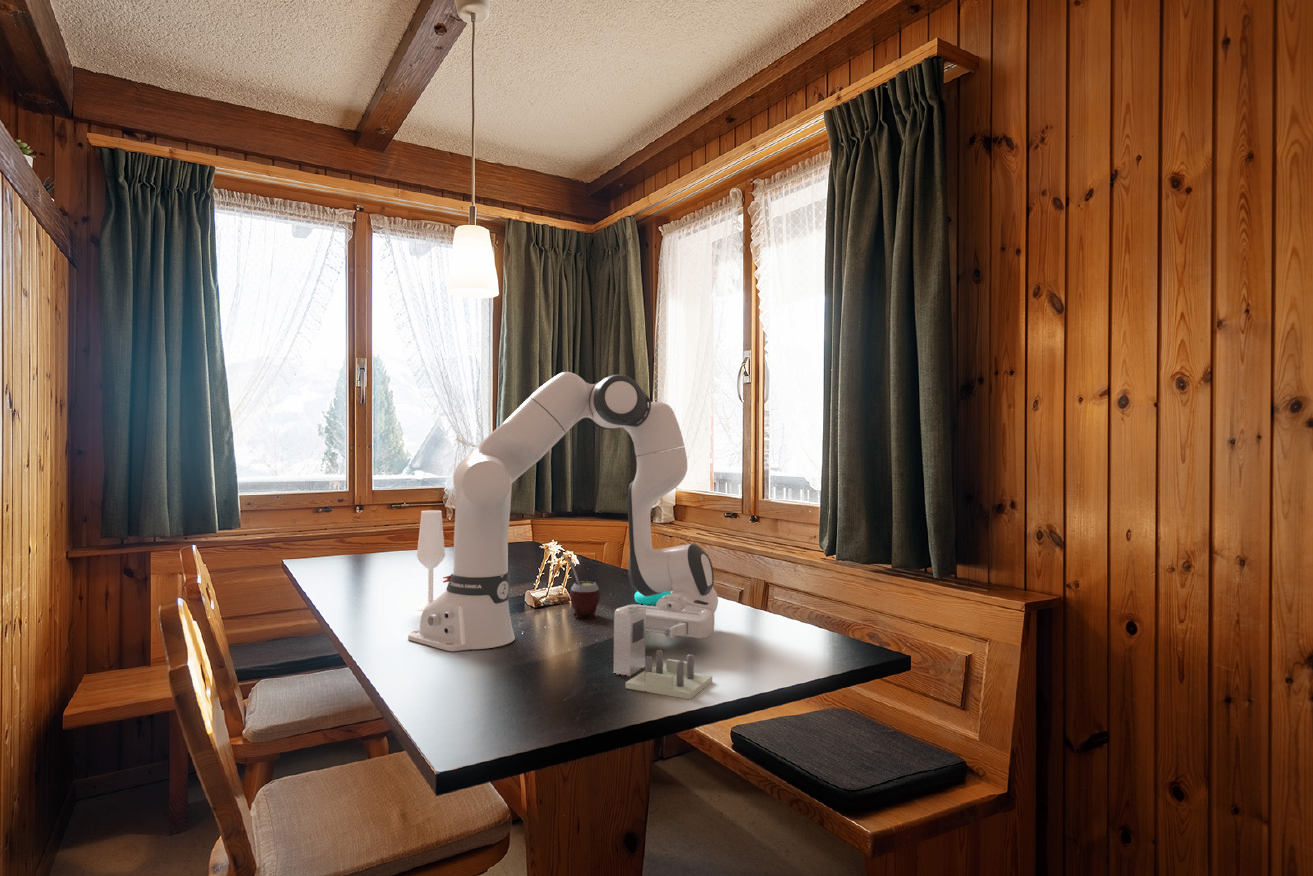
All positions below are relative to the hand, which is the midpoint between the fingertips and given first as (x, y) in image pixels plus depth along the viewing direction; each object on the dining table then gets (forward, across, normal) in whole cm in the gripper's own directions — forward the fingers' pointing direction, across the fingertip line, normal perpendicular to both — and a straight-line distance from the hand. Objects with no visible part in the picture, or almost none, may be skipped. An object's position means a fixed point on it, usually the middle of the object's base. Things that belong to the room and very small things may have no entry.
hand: (646, 629), depth 146 cm
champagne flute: (-14, -67, +6) cm, 69 cm away
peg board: (+11, +10, +6) cm, 16 cm away
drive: (+7, 0, +6) cm, 9 cm away
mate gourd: (-24, -29, +6) cm, 38 cm away
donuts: (-46, -21, +6) cm, 51 cm away
